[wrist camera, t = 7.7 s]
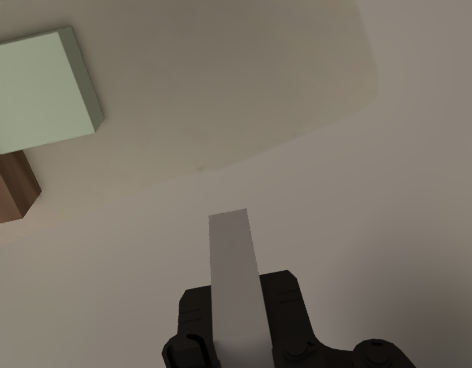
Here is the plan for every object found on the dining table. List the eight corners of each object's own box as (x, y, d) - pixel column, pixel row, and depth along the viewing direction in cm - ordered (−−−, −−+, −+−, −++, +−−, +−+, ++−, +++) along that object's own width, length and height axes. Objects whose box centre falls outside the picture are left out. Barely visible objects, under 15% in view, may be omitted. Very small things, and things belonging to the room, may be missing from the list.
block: (71, 25, 36) (57, 31, 33) (104, 117, 40) (95, 132, 36) (-23, 47, 36) (-48, 56, 33) (18, 137, 40) (0, 154, 36)
